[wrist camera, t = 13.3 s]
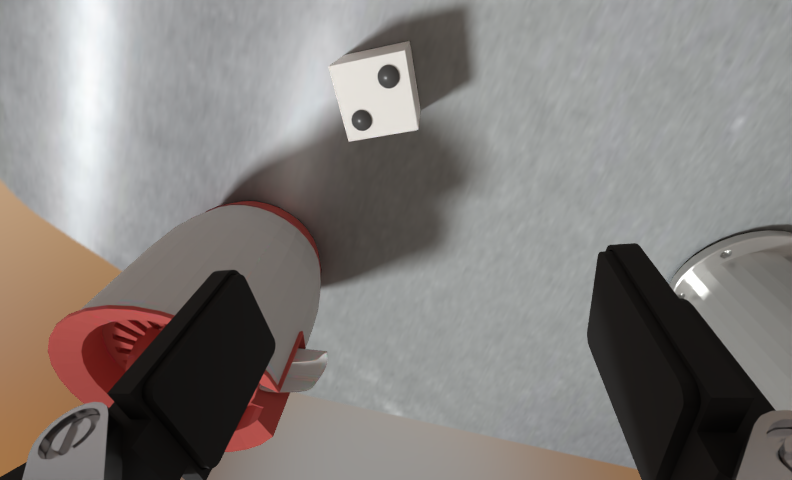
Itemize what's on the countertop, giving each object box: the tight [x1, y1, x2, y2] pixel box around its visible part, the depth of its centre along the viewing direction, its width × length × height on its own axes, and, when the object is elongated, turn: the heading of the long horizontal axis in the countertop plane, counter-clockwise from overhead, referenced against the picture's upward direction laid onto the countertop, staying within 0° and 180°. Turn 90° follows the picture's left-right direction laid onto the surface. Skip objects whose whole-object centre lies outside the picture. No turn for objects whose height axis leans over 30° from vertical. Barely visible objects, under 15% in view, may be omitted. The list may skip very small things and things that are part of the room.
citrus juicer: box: [48, 201, 328, 452], centre depth 31 cm, size 16×17×20 cm
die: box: [328, 41, 421, 142], centre depth 27 cm, size 5×5×5 cm
